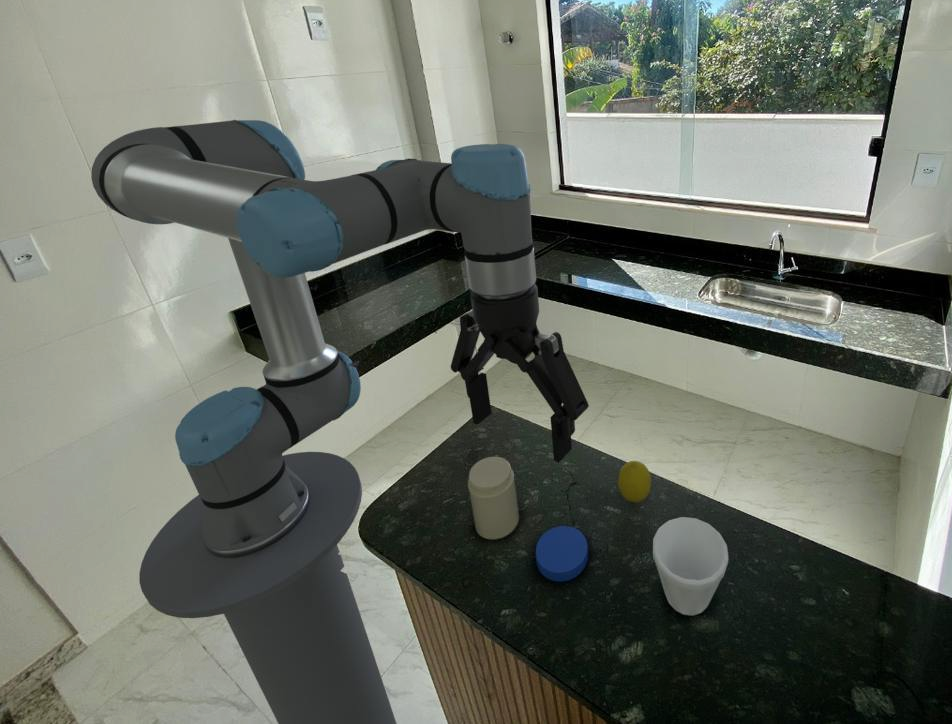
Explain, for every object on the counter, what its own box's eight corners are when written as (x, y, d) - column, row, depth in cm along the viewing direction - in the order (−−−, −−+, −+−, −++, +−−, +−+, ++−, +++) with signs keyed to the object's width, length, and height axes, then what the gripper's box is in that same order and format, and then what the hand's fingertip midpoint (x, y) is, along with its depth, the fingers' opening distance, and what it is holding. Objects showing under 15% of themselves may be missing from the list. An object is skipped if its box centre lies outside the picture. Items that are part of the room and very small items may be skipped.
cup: (637, 598, 68) (637, 552, 64) (676, 548, 74) (678, 504, 71) (700, 649, 61) (704, 601, 58) (736, 589, 68) (742, 543, 65)
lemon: (612, 501, 83) (611, 465, 80) (631, 481, 87) (631, 446, 84) (638, 518, 80) (638, 481, 77) (657, 497, 84) (658, 461, 80)
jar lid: (598, 549, 75) (597, 540, 74) (568, 592, 69) (567, 583, 68) (557, 526, 79) (556, 517, 78) (525, 565, 73) (524, 556, 72)
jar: (465, 531, 78) (456, 481, 74) (491, 497, 84) (483, 450, 80) (504, 545, 76) (496, 494, 72) (527, 509, 82) (521, 461, 78)
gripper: (615, 296, 51) (618, 452, 60) (452, 257, 64) (472, 391, 72) (575, 326, 46) (584, 494, 54) (404, 277, 58) (432, 420, 66)
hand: (520, 435), depth 63 cm, fingers open, 13 cm apart
